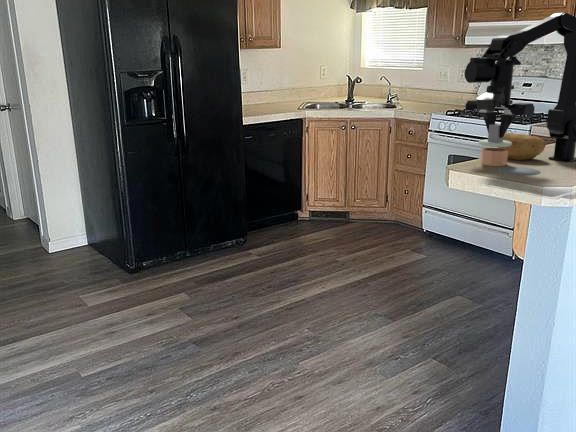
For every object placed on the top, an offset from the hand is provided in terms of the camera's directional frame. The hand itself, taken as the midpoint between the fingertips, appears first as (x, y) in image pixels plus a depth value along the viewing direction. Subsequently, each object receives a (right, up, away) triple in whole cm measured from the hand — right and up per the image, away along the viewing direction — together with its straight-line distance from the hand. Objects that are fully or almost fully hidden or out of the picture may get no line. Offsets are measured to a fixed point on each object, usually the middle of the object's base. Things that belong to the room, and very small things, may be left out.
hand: (495, 137), depth 161 cm
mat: (+3, -11, -8) cm, 14 cm away
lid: (0, -2, +1) cm, 2 cm away
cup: (0, -8, +2) cm, 8 cm away
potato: (+10, -6, +9) cm, 15 cm away
